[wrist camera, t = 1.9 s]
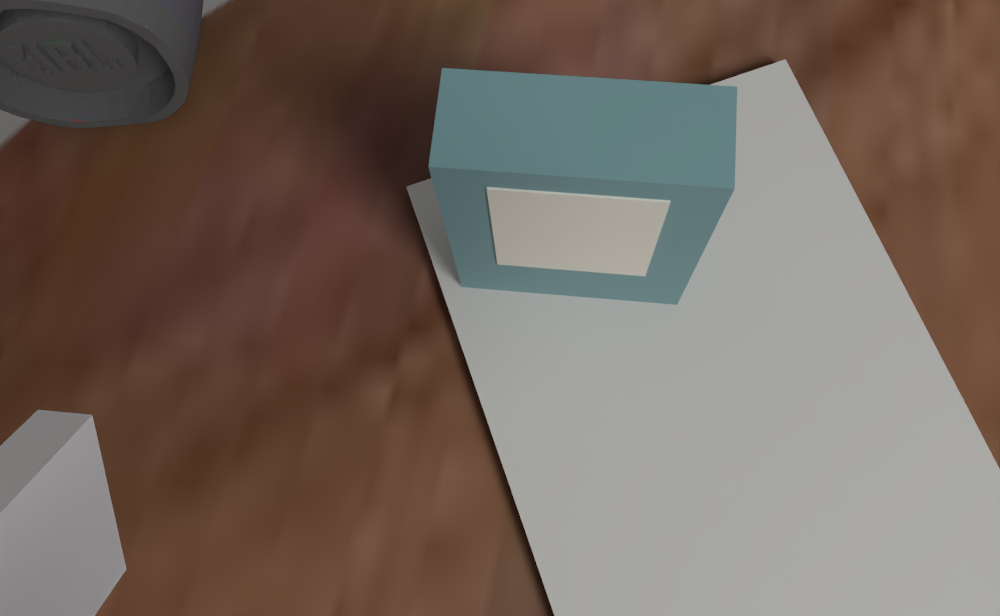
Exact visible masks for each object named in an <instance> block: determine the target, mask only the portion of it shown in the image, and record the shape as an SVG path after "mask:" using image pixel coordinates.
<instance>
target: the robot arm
mask: <svg viewBox="0 0 1000 616" xmlns="http://www.w3.org/2000/svg"><path fill="white" fill-rule="evenodd" d="M125 570H126V566H125V561H124V557H123V552H122V548H121V543H120V538H119V534H118V529H117V525H116V520H115V516H114V511H113V507H112V502H111V498H110V493H109V488H108V484H107V479H106V475H105V470H104V466H103V461H102V457H101V452H100V447H99V443H98V438H97V434H96V429H95V425H94V420H93V416H92V415H87V414H77V413H66V412H56V411H46V410H37V411H36V412H35V413H34V414H33V415H32V416H31V417H30V418H29V419H28V420H27V421H26V422H25V423H24V424H23V425H22V426H21V427H20V428H18V429H17V430H16V431H15V432H14V433H13V434H12V435H11V436H10V437H9V438H8V439H7V440H6V441H5V442H4V443H3V444H2V445H1V446H0V616H95V614H96V613H97V611H98V610H99V609H100V607H101V606H102V604H103V603H104V601H105V600H106V598H107V597H108V595H109V594H110V592H111V591H112V589H113V588H114V587H115V585H116V584H117V582H118V581H119V579H120V578H121V576H122V575H123V573H124V572H125Z"/></svg>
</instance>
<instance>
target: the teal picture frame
mask: <svg viewBox="0 0 1000 616" xmlns="http://www.w3.org/2000/svg"><path fill="white" fill-rule="evenodd" d="M736 117H737V87H734V86H718V85H702V84H687V83H671V82H655V81H639V80H624V79H608V78H592V77H577V76H561V75H545V74H530V73H514V72H498V71H482V70H467V69H451V68H442V72H441V79H440V86H439V94H438V101H437V108H436V115H435V122H434V130H433V137H432V144H431V151H430V158H429V166H428V167H429V171H430V174H431V178H432V182H433V185H434V189H435V192H436V196H437V200H438V203H439V207H440V210H441V214H442V218H443V221H444V225H445V228H446V232H447V236H448V239H449V243H450V246H451V250H452V254H453V257H454V261H455V264H456V268H457V272H458V275H459V279H460V283H461V286H462V287H467V288H479V289H491V290H503V291H516V292H528V293H540V294H552V295H564V296H576V297H588V298H600V299H613V300H625V301H637V302H649V303H661V304H673V305H677V304H678V302H679V300H680V298H681V296H682V294H683V292H684V290H685V288H686V286H687V284H688V282H689V280H690V278H691V276H692V274H693V272H694V270H695V268H696V266H697V264H698V262H699V260H700V258H701V256H702V254H703V252H704V250H705V248H706V246H707V244H708V242H709V240H710V237H711V235H712V233H713V231H714V229H715V227H716V225H717V223H718V221H719V219H720V217H721V215H722V213H723V211H724V209H725V207H726V205H727V203H728V201H729V199H730V197H731V195H732V193H733V191H734V189H735V156H736Z"/></svg>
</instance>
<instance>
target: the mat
mask: <svg viewBox="0 0 1000 616" xmlns="http://www.w3.org/2000/svg"><path fill="white" fill-rule="evenodd" d="M711 85H718V86H734V87H737V117H736V156H735V189H734V191H733V193H732V195H731V197H730V199H729V201H728V203H727V205H726V207H725V209H724V211H723V213H722V215H721V217H720V219H719V221H718V223H717V225H716V227H715V229H714V231H713V233H712V235H711V237H710V240H709V242H708V244H707V246H706V248H705V250H704V252H703V254H702V256H701V258H700V260H699V262H698V264H697V266H696V268H695V270H694V272H693V274H692V276H691V278H690V280H689V282H688V284H687V286H686V288H685V290H684V292H683V294H682V296H681V298H680V300H679V302H678V304H677V305H673V304H661V303H649V302H637V301H625V300H613V299H600V298H588V297H576V296H564V295H552V294H540V293H528V292H516V291H503V290H491V289H479V288H467V287H462V286H461V283H460V279H459V275H458V272H457V268H456V264H455V261H454V257H453V254H452V250H451V246H450V243H449V239H448V236H447V232H446V228H445V225H444V221H443V218H442V214H441V210H440V207H439V203H438V200H437V196H436V192H435V189H434V185H433V182H432V178H430V179H428V180H425V181H422V182H419V183H416V184H413V185H410V186H407V187H406V188H407V191H408V194H409V196H410V199H411V202H412V205H413V208H414V211H415V214H416V217H417V220H418V222H419V225H420V228H421V231H422V234H423V237H424V240H425V243H426V246H427V249H428V251H429V254H430V257H431V260H432V263H433V266H434V269H435V272H436V275H437V277H438V280H439V283H440V286H441V289H442V292H443V295H444V298H445V301H446V303H447V306H448V309H449V312H450V315H451V318H452V321H453V324H454V327H455V330H456V332H457V335H458V338H459V341H460V344H461V347H462V350H463V353H464V356H465V358H466V361H467V364H468V367H469V370H470V373H471V376H472V379H473V382H474V385H475V387H476V390H477V393H478V396H479V399H480V402H481V405H482V408H483V411H484V413H485V416H486V419H487V422H488V425H489V428H490V431H491V434H492V437H493V440H494V442H495V445H496V448H497V451H498V454H499V457H500V460H501V463H502V466H503V468H504V471H505V474H506V477H507V480H508V483H509V486H510V489H511V492H512V494H513V497H514V500H515V503H516V506H517V509H518V512H519V515H520V518H521V521H522V523H523V526H524V529H525V532H526V535H527V538H528V541H529V544H530V547H531V549H532V552H533V555H534V558H535V561H536V564H537V567H538V570H539V573H540V576H541V578H542V581H543V584H544V587H545V590H546V593H547V596H548V599H549V602H550V604H551V607H552V610H553V613H554V616H1000V469H999V467H998V465H997V463H996V461H995V459H994V458H993V456H992V454H991V452H990V450H989V448H988V446H987V444H986V442H985V440H984V438H983V436H982V435H981V433H980V431H979V429H978V427H977V425H976V423H975V421H974V419H973V417H972V415H971V413H970V412H969V410H968V408H967V406H966V404H965V402H964V400H963V398H962V396H961V394H960V392H959V391H958V389H957V387H956V385H955V383H954V381H953V379H952V377H951V375H950V373H949V371H948V369H947V368H946V366H945V364H944V362H943V360H942V358H941V356H940V354H939V352H938V350H937V348H936V346H935V345H934V343H933V341H932V339H931V337H930V335H929V333H928V331H927V329H926V327H925V325H924V324H923V322H922V320H921V318H920V316H919V314H918V312H917V310H916V308H915V306H914V304H913V302H912V301H911V299H910V297H909V295H908V293H907V291H906V289H905V287H904V285H903V283H902V281H901V279H900V278H899V276H898V274H897V272H896V270H895V268H894V266H893V264H892V262H891V260H890V258H889V256H888V255H887V253H886V251H885V249H884V247H883V245H882V243H881V241H880V239H879V237H878V235H877V234H876V232H875V230H874V228H873V226H872V224H871V222H870V220H869V218H868V216H867V214H866V212H865V211H864V209H863V207H862V205H861V203H860V201H859V199H858V197H857V195H856V193H855V191H854V189H853V188H852V186H851V184H850V182H849V180H848V178H847V176H846V174H845V172H844V170H843V168H842V167H841V165H840V163H839V161H838V159H837V157H836V155H835V153H834V151H833V149H832V147H831V145H830V144H829V142H828V140H827V138H826V136H825V134H824V132H823V130H822V128H821V126H820V124H819V122H818V121H817V119H816V117H815V115H814V113H813V111H812V109H811V107H810V105H809V103H808V101H807V99H806V98H805V96H804V94H803V92H802V90H801V88H800V86H799V84H798V82H797V80H796V78H795V77H794V75H793V73H792V71H791V69H790V67H789V65H788V63H787V61H786V59H785V60H782V61H779V62H776V63H773V64H770V65H767V66H764V67H761V68H758V69H755V70H752V71H749V72H746V73H743V74H740V75H737V76H734V77H731V78H728V79H725V80H722V81H719V82H717V83H714V84H711Z"/></svg>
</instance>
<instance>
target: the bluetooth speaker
mask: <svg viewBox="0 0 1000 616" xmlns="http://www.w3.org/2000/svg"><path fill="white" fill-rule="evenodd" d="M202 6H203V0H0V109H1V110H3V111H6V112H9V113H11V114H14V115H16V116H19V117H23V118H26V119H30V120H33V121H37V122H41V123H45V124H50V125H55V126H60V127H69V128H94V127H105V126H120V125H131V124H141V123H151V122H156V121H160V120H163V119H165V118H167V117H169V116H170V115H172V114H173V113H175V112H176V111H177V110H178V109H179V108H180V107H181V106H182V105H183V104H184V102H185V100H186V99H187V96H188V92H189V87H190V83H191V79H192V74H193V70H194V64H195V60H196V54H197V48H198V42H199V35H200V27H201V17H202Z"/></svg>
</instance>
